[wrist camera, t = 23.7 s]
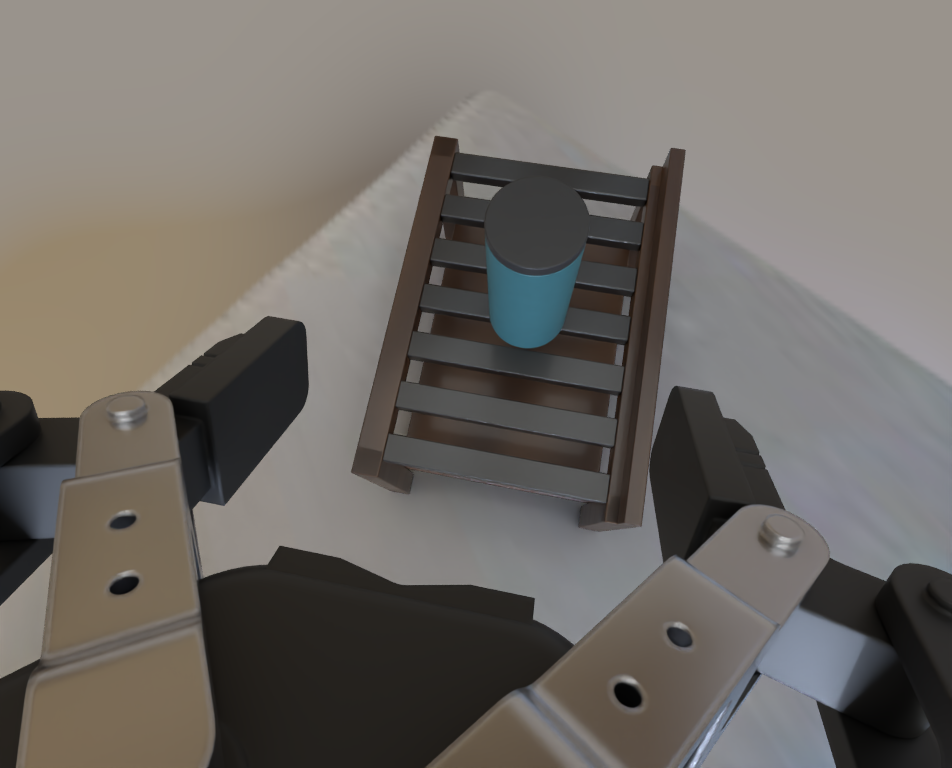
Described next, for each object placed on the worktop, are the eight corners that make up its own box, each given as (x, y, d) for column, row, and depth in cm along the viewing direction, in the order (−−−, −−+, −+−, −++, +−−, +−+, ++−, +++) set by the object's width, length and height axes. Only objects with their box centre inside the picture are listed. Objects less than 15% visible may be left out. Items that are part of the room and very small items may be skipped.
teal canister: (482, 341, 30) (474, 260, 21) (497, 273, 31) (494, 168, 22) (558, 354, 30) (581, 276, 21) (570, 284, 31) (597, 183, 22)
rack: (389, 490, 38) (341, 468, 27) (450, 226, 43) (431, 115, 32) (599, 531, 37) (641, 526, 26) (637, 254, 42) (685, 149, 31)
